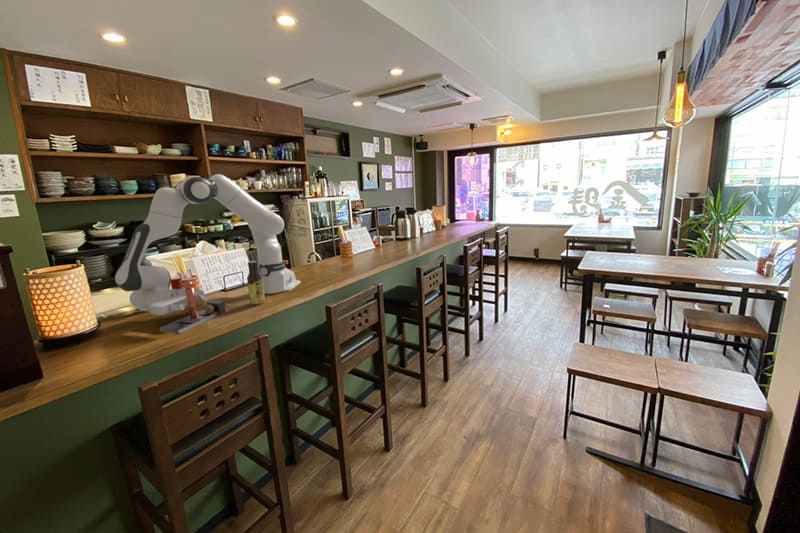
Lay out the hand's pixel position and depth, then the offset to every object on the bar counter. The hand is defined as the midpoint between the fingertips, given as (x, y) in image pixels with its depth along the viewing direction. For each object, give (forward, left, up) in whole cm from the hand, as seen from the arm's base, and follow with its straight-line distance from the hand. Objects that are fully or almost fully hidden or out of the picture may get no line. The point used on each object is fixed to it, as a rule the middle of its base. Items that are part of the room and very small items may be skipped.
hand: (193, 303), depth 134 cm
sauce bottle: (-23, +10, -9) cm, 26 cm away
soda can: (-21, -32, -9) cm, 39 cm away
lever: (0, -1, -7) cm, 7 cm away
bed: (-1, -1, -8) cm, 9 cm away
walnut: (-7, -1, -7) cm, 10 cm away
